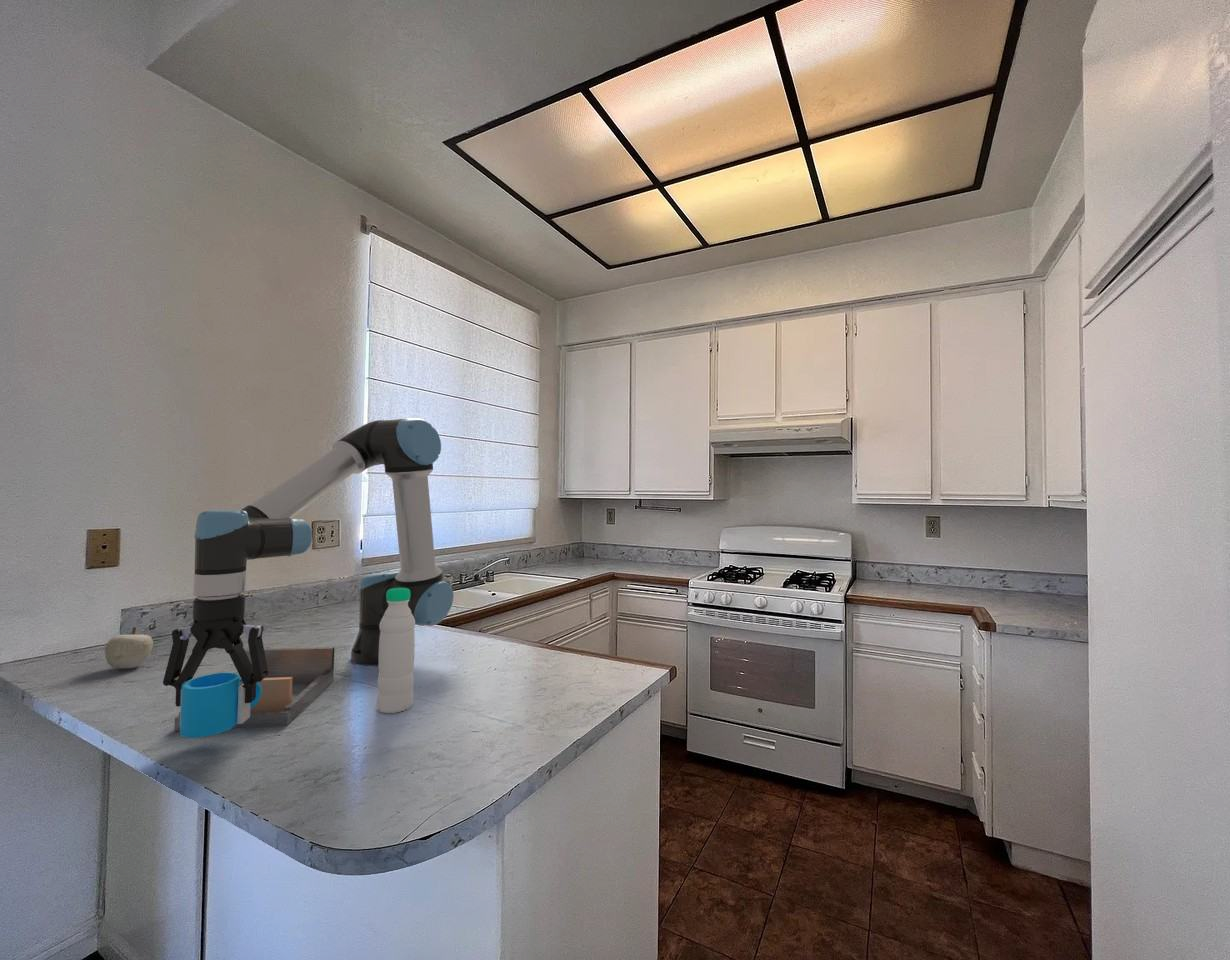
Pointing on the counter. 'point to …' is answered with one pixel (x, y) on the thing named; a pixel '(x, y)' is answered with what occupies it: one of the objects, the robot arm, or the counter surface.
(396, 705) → the water bottle
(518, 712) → the counter surface
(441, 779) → the counter surface
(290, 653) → the lane
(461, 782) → the counter surface
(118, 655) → the decorative object
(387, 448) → the robot arm
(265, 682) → the pusher
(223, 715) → the mug
